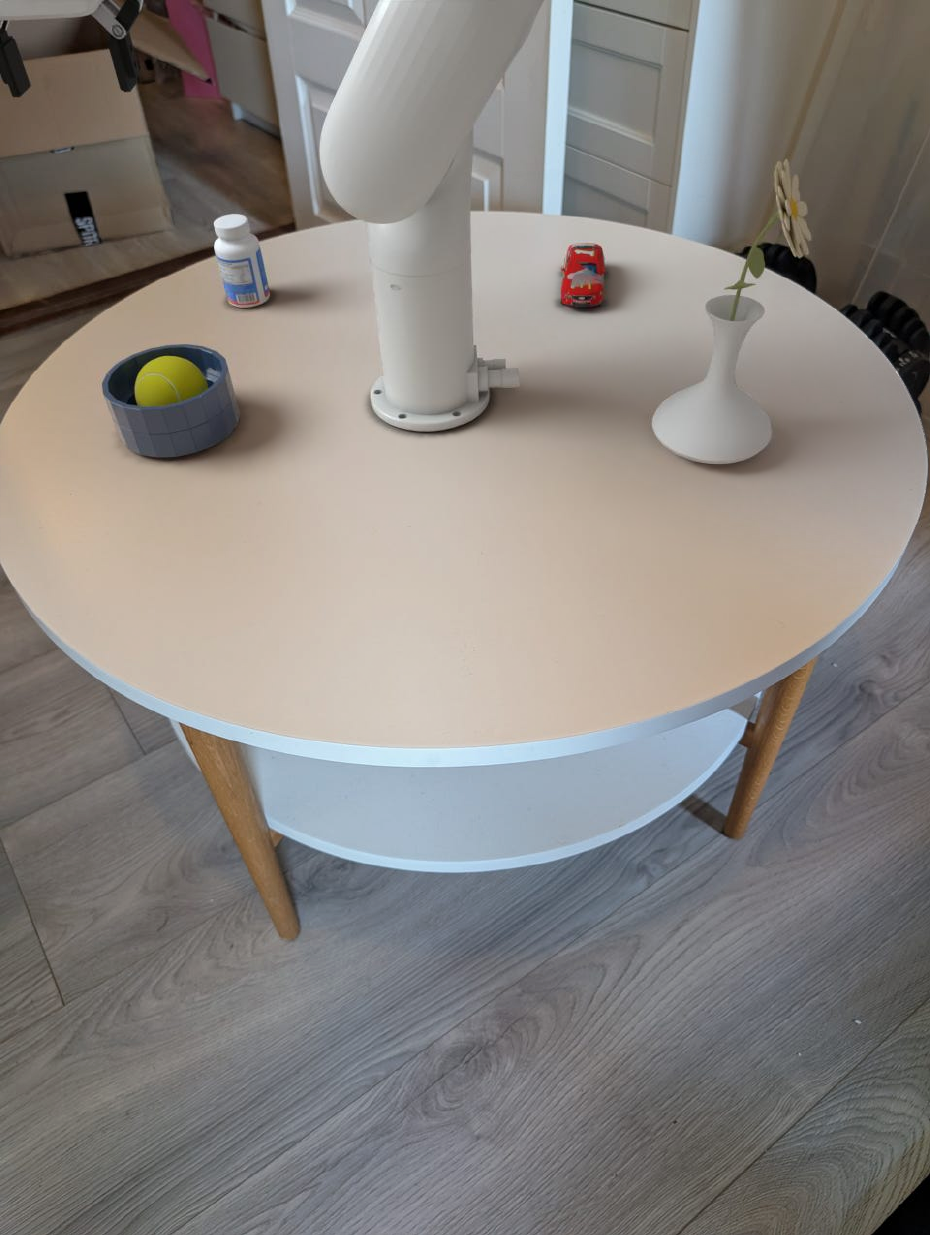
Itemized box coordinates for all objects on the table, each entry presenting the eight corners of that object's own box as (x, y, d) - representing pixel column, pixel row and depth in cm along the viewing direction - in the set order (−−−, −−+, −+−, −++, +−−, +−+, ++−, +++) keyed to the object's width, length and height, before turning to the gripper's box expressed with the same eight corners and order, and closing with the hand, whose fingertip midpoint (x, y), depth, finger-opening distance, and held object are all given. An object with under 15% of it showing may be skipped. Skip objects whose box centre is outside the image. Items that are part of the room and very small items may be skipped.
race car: (602, 314, 105) (605, 282, 102) (557, 312, 105) (558, 280, 102) (606, 264, 113) (609, 233, 111) (565, 263, 114) (566, 232, 111)
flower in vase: (728, 491, 80) (793, 213, 62) (626, 444, 86) (659, 177, 68) (797, 428, 87) (874, 160, 69) (698, 389, 92) (745, 131, 74)
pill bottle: (249, 285, 113) (232, 207, 106) (279, 295, 111) (264, 217, 104) (218, 302, 110) (198, 223, 103) (248, 313, 108) (230, 233, 101)
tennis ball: (196, 446, 88) (176, 384, 83) (134, 437, 89) (112, 376, 84) (227, 408, 92) (211, 347, 87) (168, 400, 94) (149, 340, 89)
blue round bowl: (248, 392, 95) (235, 341, 91) (230, 458, 87) (215, 406, 82) (136, 397, 95) (119, 346, 91) (108, 464, 87) (87, 412, 82)
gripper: (-142, -155, 63) (-36, 108, 76) (96, -166, 63) (163, 99, 76) (-98, -165, 68) (-6, 82, 81) (121, -176, 68) (180, 73, 81)
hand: (76, 90), depth 78 cm, fingers open, 9 cm apart
